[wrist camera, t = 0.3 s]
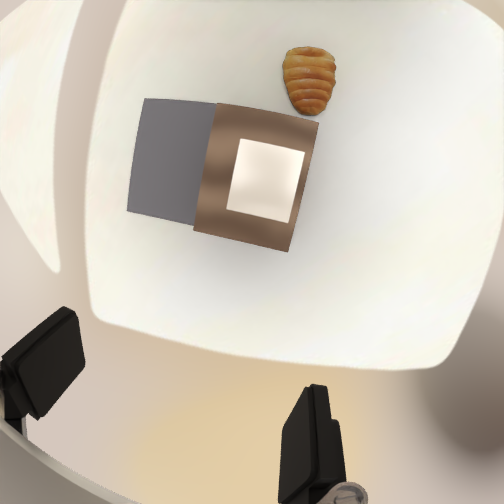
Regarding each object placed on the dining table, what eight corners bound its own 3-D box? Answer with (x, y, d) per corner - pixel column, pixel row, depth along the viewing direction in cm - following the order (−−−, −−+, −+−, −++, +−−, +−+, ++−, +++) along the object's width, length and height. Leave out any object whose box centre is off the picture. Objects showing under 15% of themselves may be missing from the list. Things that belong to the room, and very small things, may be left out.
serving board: (224, 108, 32) (217, 102, 29) (315, 126, 32) (319, 122, 28) (202, 223, 38) (193, 230, 34) (287, 243, 37) (287, 252, 34)
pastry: (333, 118, 32) (339, 114, 28) (282, 114, 32) (281, 109, 29) (333, 56, 29) (337, 46, 25) (283, 52, 29) (282, 41, 26)
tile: (243, 139, 30) (240, 138, 28) (303, 153, 30) (304, 152, 28) (229, 205, 33) (226, 209, 30) (287, 219, 32) (288, 223, 30)
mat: (145, 98, 33) (144, 98, 32) (222, 104, 32) (222, 104, 32) (127, 210, 38) (126, 211, 38) (199, 226, 38) (198, 226, 38)
